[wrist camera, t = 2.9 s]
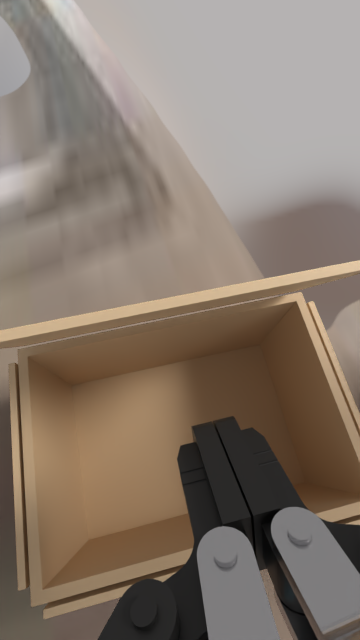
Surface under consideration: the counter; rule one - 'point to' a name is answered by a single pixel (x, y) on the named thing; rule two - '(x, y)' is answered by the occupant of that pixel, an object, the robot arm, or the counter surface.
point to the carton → (165, 439)
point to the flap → (173, 305)
